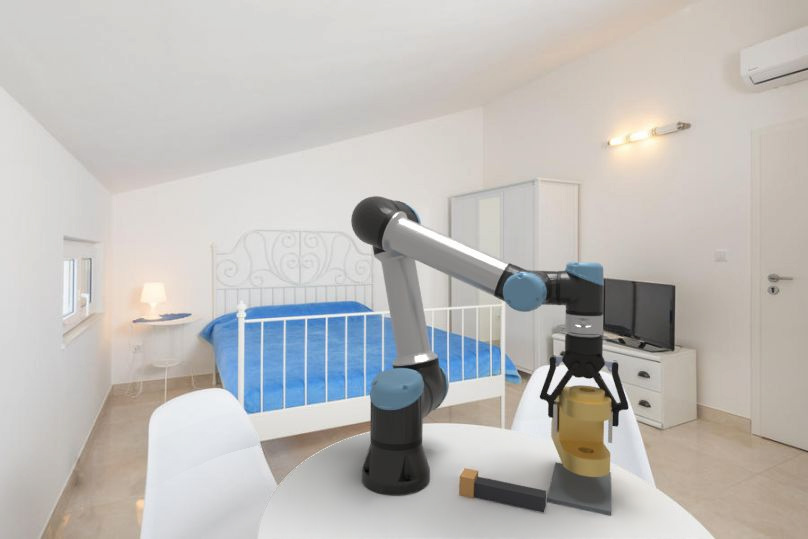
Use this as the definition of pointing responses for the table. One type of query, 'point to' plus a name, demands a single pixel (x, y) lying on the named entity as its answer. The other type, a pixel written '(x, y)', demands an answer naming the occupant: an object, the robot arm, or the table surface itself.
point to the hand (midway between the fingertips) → (582, 436)
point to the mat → (580, 490)
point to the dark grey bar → (501, 491)
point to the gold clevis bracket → (582, 430)
